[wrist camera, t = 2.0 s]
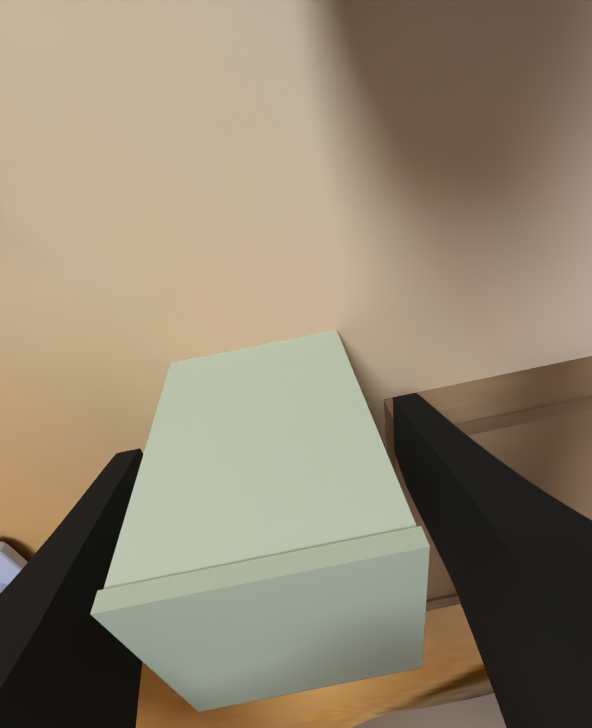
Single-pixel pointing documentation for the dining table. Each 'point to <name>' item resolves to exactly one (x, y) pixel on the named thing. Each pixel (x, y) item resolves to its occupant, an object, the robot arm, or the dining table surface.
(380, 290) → the dining table surface
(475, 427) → the board
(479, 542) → the robot arm
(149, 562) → the block
